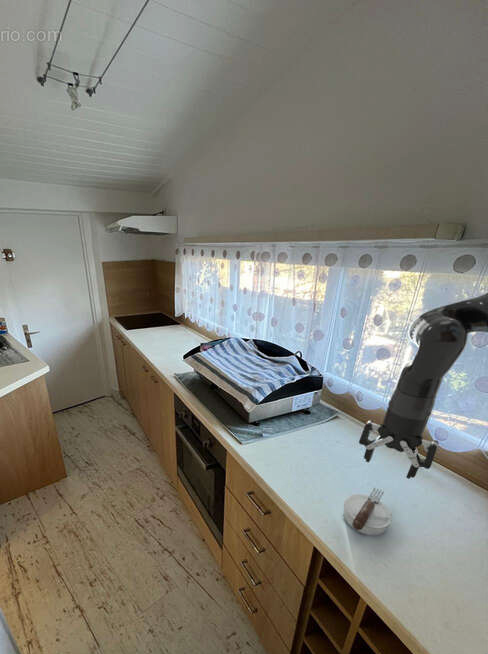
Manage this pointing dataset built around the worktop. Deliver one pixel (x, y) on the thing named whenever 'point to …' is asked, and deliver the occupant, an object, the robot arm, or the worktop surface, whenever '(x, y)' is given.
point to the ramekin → (376, 520)
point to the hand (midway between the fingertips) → (387, 468)
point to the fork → (366, 510)
